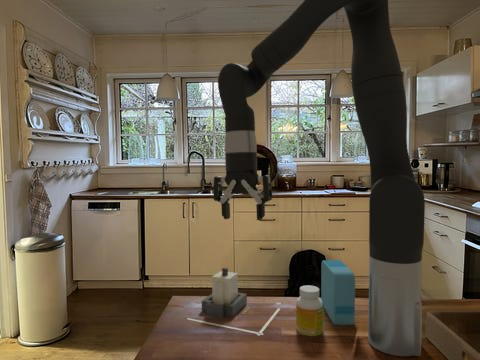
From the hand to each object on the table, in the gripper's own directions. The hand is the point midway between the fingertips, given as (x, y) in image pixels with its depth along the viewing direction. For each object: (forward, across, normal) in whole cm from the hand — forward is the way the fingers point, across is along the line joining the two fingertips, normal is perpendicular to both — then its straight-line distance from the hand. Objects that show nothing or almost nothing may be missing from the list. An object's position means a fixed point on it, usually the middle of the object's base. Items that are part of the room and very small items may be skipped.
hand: (243, 219), depth 84 cm
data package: (+23, -21, -4) cm, 31 cm away
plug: (+21, +4, +3) cm, 22 cm away
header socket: (+21, +3, +3) cm, 22 cm away
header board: (+22, 0, +5) cm, 23 cm away
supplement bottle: (+23, -17, +6) cm, 29 cm away
